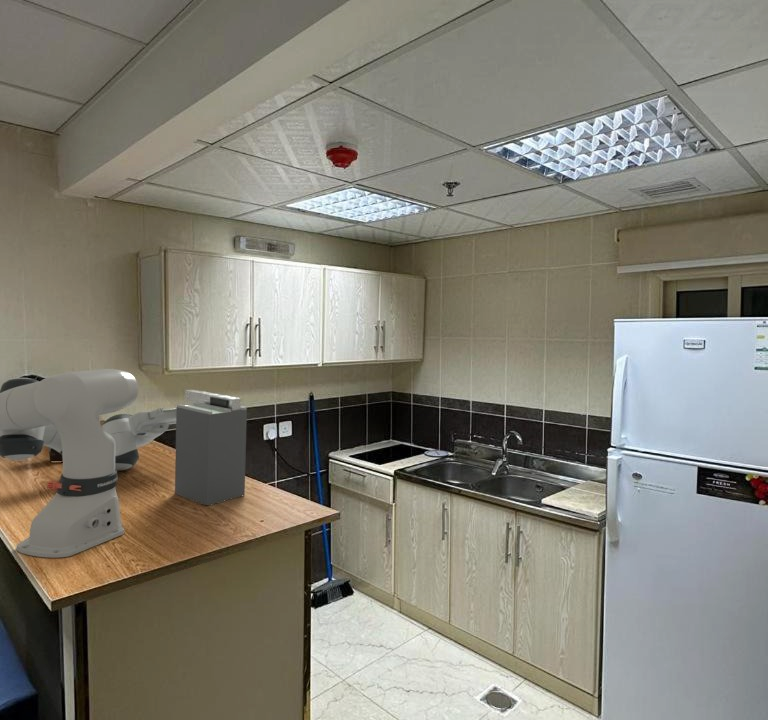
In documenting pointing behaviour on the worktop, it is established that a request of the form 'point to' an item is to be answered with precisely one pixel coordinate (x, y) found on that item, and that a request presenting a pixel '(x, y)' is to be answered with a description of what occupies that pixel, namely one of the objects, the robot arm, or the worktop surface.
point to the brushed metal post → (213, 399)
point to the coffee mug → (55, 455)
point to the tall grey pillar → (210, 452)
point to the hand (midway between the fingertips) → (174, 408)
